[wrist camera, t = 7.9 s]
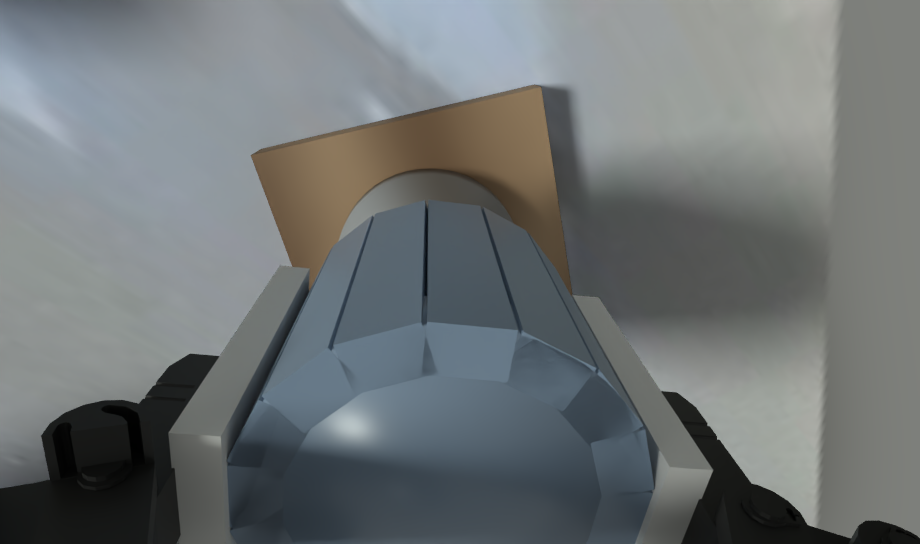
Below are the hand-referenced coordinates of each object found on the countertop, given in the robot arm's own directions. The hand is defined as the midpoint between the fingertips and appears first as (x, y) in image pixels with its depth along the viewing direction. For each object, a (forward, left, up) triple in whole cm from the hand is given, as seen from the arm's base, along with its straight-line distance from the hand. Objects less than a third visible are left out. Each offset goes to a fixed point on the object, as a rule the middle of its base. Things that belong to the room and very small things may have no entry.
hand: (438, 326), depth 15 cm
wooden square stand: (0, 0, -7) cm, 7 cm away
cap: (0, 0, 0) cm, 0 cm away
